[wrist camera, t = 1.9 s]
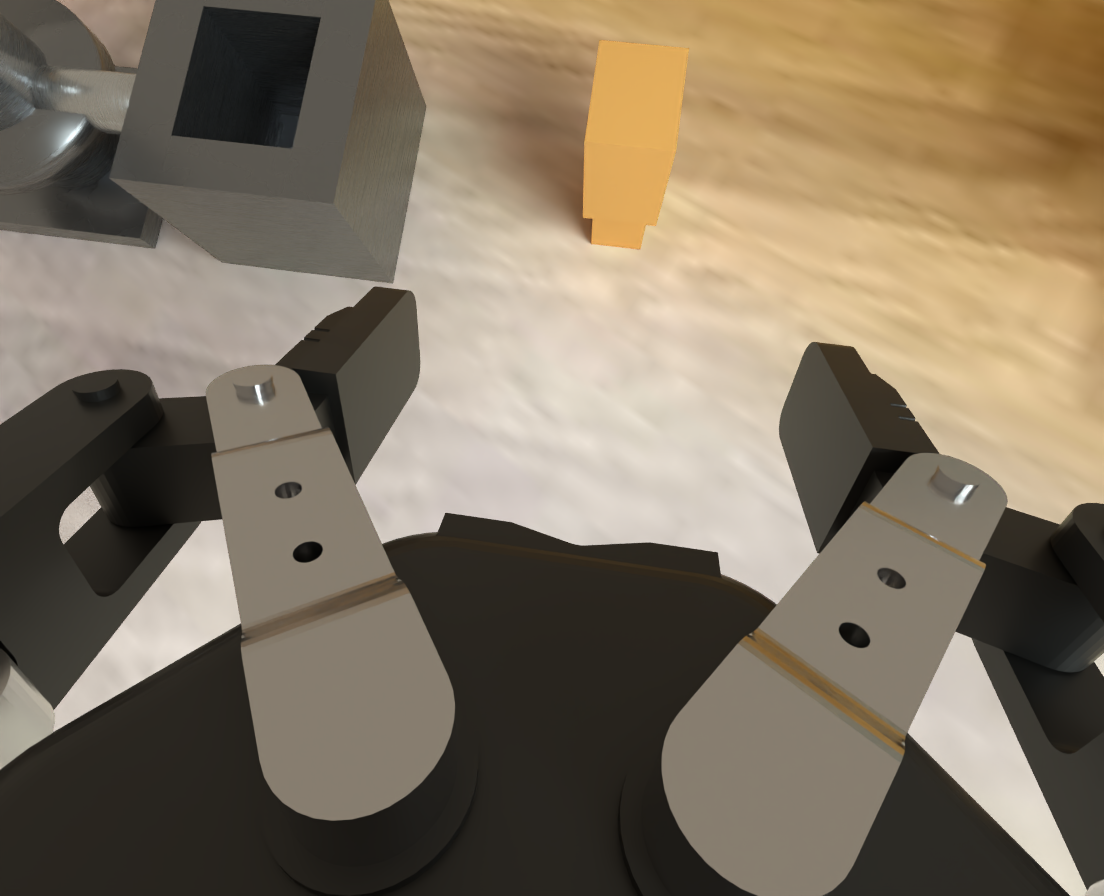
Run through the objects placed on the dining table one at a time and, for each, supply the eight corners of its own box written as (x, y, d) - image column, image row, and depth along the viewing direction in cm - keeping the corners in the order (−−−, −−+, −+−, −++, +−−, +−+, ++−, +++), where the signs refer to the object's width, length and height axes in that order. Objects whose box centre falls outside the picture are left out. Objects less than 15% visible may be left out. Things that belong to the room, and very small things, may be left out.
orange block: (657, 182, 28) (688, 48, 20) (647, 257, 28) (675, 151, 20) (592, 175, 28) (599, 40, 21) (582, 250, 28) (584, 141, 20)
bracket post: (426, 106, 29) (196, -543, 12) (393, 283, 28) (77, -138, 10) (35, 66, 31) (-716, -575, 13) (-13, 233, 29) (-919, -218, 12)
